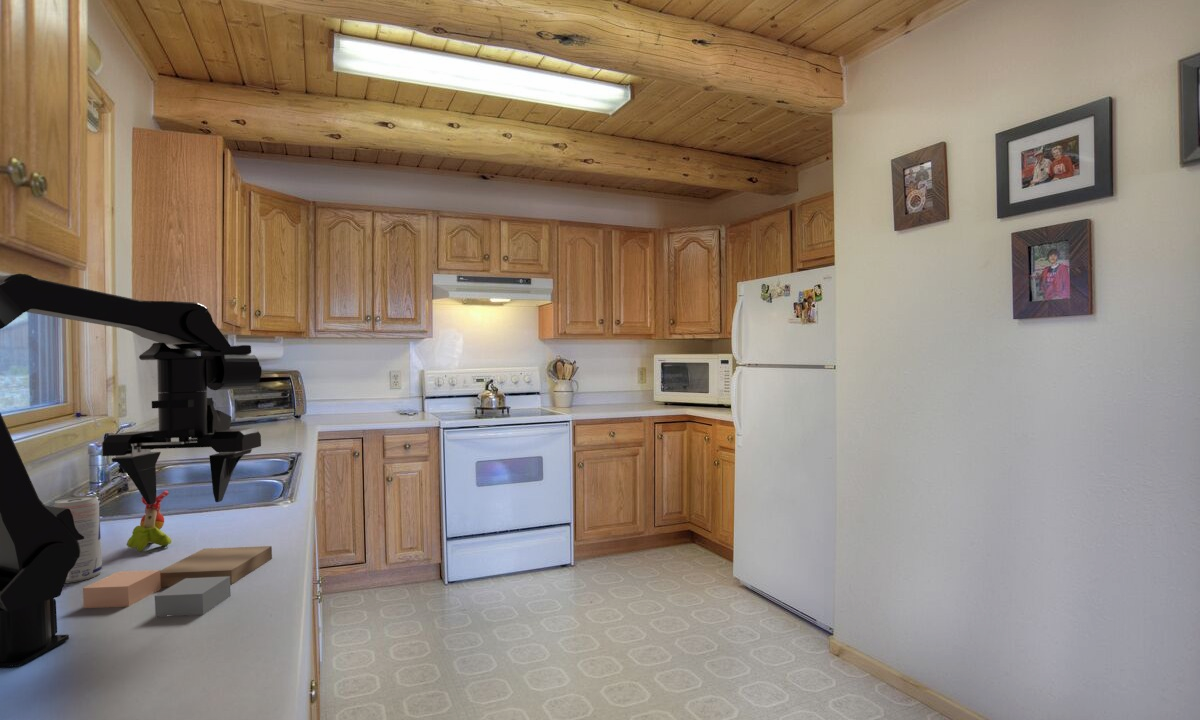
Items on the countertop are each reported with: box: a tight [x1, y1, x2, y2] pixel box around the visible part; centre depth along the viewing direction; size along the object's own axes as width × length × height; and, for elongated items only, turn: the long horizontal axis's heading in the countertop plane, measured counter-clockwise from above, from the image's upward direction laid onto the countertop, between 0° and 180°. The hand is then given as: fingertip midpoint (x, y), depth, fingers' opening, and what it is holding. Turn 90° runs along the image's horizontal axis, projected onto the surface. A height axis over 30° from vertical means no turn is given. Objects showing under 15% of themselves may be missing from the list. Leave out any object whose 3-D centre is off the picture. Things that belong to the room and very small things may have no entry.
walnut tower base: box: [159, 545, 273, 588], centre depth 94 cm, size 11×11×2 cm
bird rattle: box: [125, 489, 172, 552], centre depth 109 cm, size 6×11×9 cm
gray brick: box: [154, 576, 232, 618], centre depth 81 cm, size 6×6×3 cm
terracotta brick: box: [82, 569, 162, 609], centre depth 84 cm, size 6×6×3 cm
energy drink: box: [52, 494, 103, 584], centre depth 93 cm, size 5×5×12 cm
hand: (185, 502), depth 86 cm, fingers open, 9 cm apart
